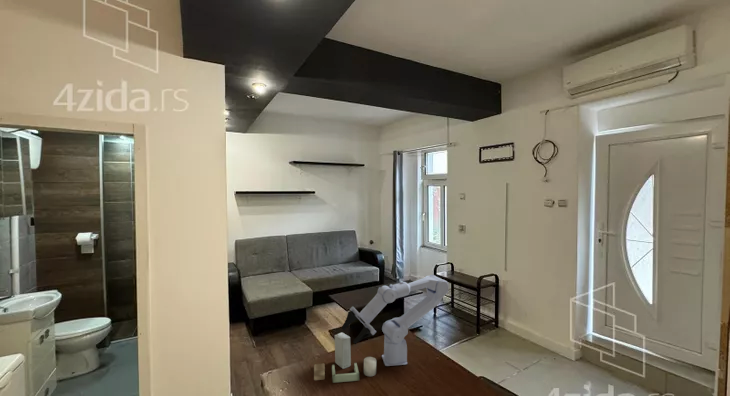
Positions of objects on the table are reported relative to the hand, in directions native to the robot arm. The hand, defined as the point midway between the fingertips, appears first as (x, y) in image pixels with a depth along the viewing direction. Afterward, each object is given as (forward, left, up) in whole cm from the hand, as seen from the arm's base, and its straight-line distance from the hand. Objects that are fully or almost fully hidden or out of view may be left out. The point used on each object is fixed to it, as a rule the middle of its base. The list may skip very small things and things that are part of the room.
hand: (348, 335), depth 122 cm
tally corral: (+1, +4, -14) cm, 15 cm away
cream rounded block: (-9, +3, -14) cm, 17 cm away
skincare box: (+2, -4, -14) cm, 15 cm away
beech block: (+11, +3, -14) cm, 18 cm away
